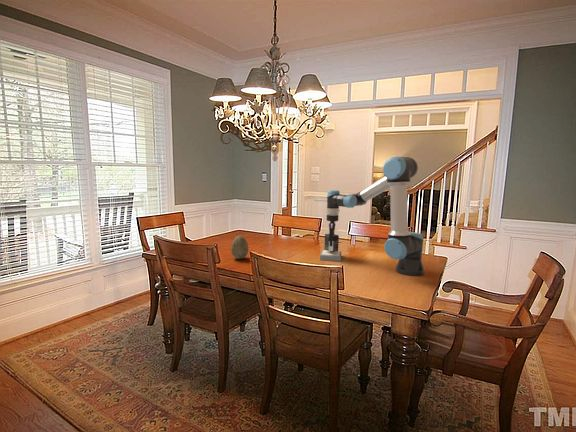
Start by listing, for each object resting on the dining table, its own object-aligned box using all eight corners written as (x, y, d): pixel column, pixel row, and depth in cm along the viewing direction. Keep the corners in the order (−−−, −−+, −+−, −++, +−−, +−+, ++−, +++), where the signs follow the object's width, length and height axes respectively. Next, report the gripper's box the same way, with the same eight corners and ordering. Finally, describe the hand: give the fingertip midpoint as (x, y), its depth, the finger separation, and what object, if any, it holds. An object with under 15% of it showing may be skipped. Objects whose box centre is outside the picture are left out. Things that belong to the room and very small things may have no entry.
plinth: (340, 261, 209) (340, 256, 208) (319, 259, 211) (320, 254, 211) (341, 255, 222) (341, 250, 221) (321, 254, 224) (321, 249, 223)
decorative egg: (251, 259, 210) (251, 236, 207) (236, 262, 203) (236, 238, 200) (242, 255, 218) (242, 233, 215) (227, 258, 211) (227, 235, 209)
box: (338, 251, 214) (339, 235, 212) (331, 252, 211) (331, 236, 209) (331, 248, 220) (331, 233, 219) (324, 249, 218) (324, 233, 216)
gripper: (337, 217, 201) (336, 253, 204) (339, 212, 222) (337, 245, 225) (325, 216, 202) (324, 252, 206) (327, 211, 223) (326, 244, 227)
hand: (331, 248), depth 215 cm, fingers closed on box, 9 cm apart
